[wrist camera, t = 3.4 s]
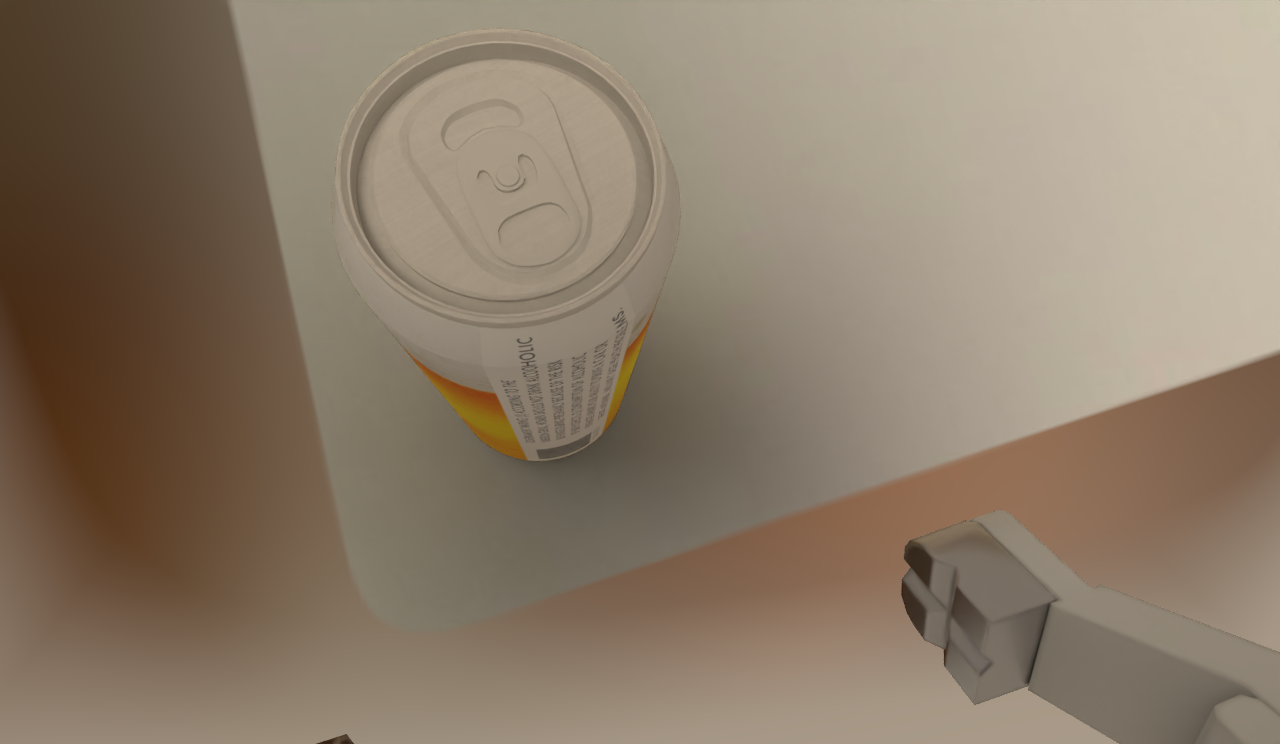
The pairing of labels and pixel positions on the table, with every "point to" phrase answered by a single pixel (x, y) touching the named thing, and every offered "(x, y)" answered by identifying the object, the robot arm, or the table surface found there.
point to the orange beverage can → (509, 229)
